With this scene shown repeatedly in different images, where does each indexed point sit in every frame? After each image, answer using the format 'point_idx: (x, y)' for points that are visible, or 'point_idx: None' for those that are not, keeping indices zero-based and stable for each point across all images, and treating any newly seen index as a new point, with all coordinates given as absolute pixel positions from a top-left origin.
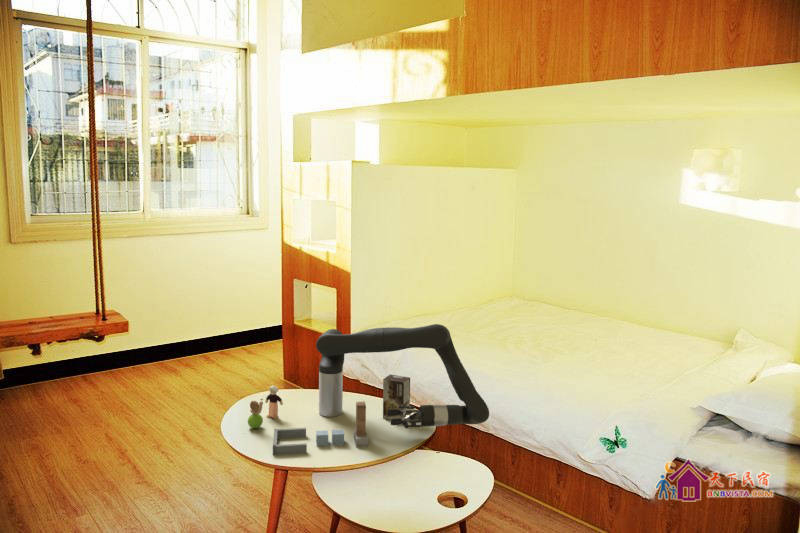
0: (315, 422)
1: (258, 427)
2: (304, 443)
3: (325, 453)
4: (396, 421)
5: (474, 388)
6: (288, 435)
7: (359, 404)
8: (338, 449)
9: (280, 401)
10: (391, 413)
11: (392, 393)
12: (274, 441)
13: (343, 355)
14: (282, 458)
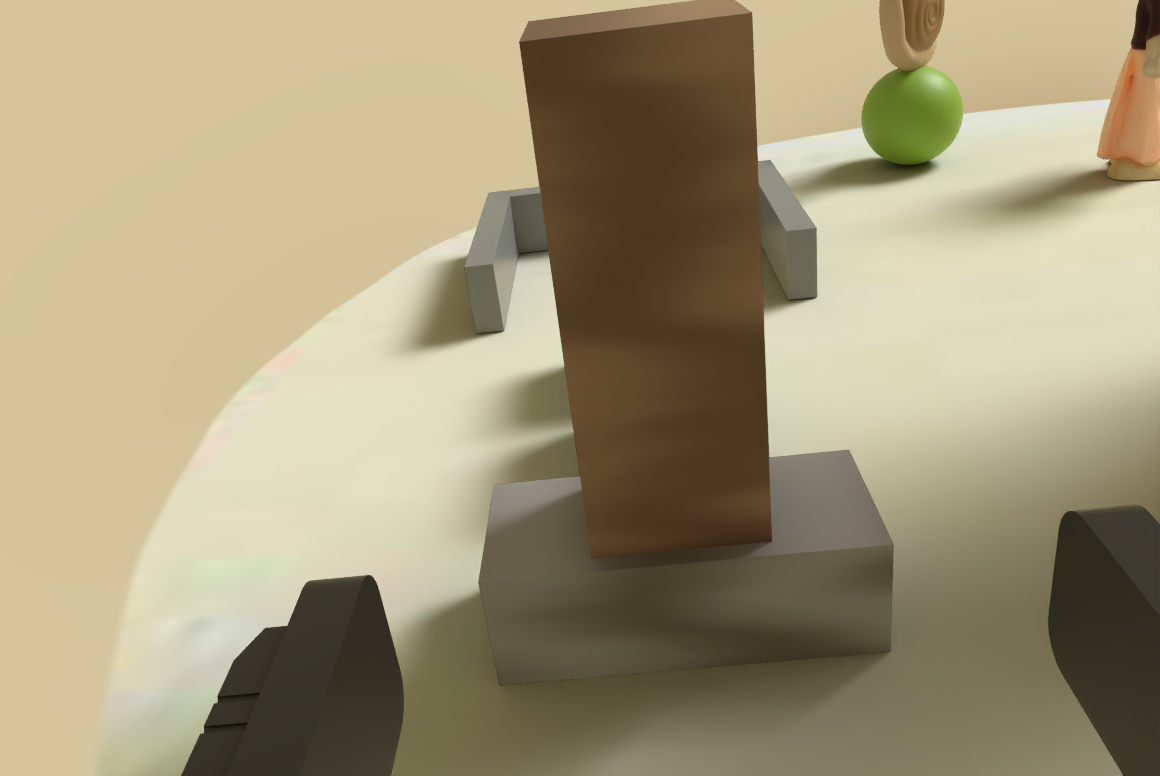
0: (1154, 300)
1: (893, 159)
2: (492, 258)
3: (436, 405)
4: (211, 722)
5: None
6: (764, 233)
7: (594, 18)
8: (494, 462)
9: (1148, 43)
10: (1114, 678)
11: None
12: None
13: None
14: (435, 276)
